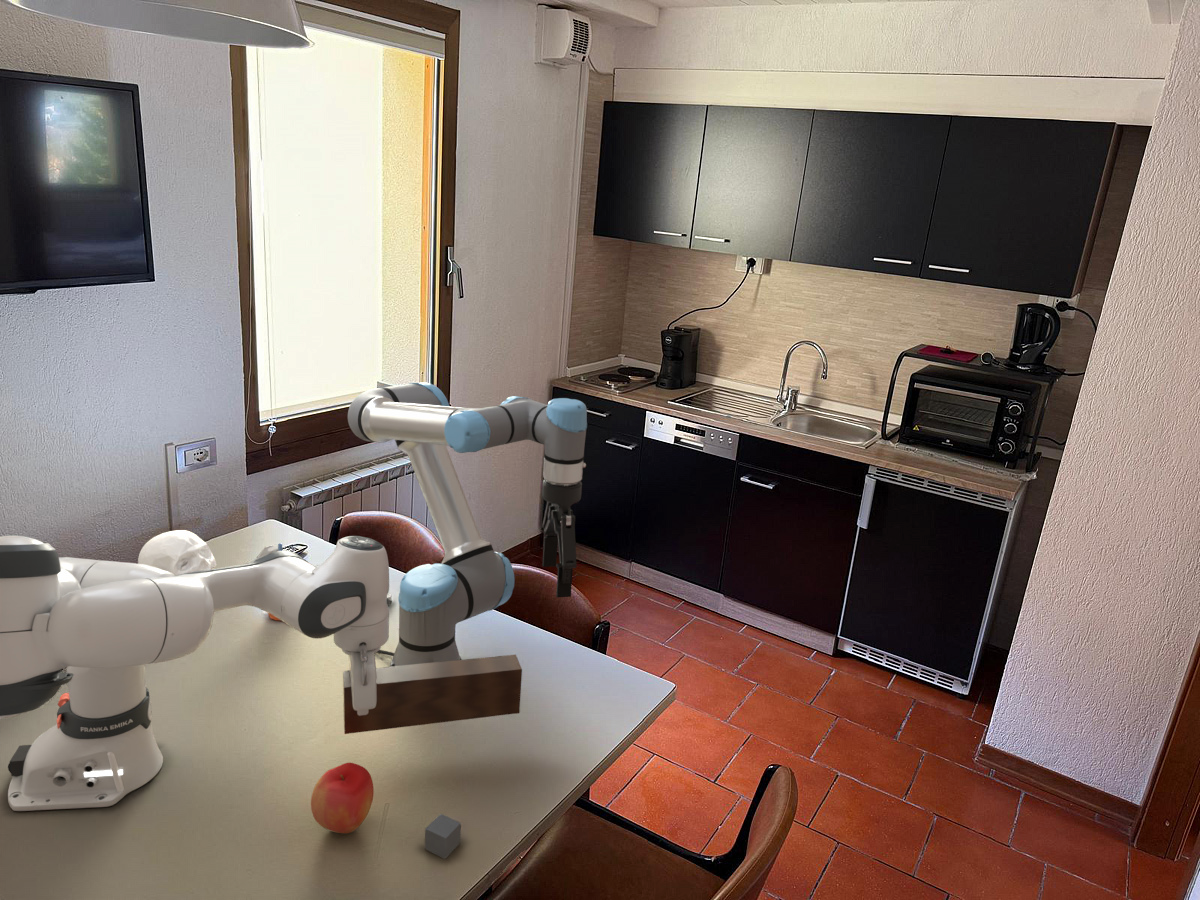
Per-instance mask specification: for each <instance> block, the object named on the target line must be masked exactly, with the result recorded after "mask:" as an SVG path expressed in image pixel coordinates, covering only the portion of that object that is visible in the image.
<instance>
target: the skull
mask: <svg viewBox="0 0 1200 900" xmlns="http://www.w3.org/2000/svg"><path fill="white" fill-rule="evenodd" d="M137 564H145V565H149V566H152V567H156V568H159V569H162V570H165V571H168V572H171V573H173V574H174V575H175V576H176V575H180V574H184V573H189V572H195V571H201V570H208V569H215V568H217V561H216V559H215V557H214V554H213V552H212V550H211V548H210V547H209V544H208V543H207V542H205V541H204V540H203V539H202V538H201V537H199V536H198V535H197V534H195V533H194V532H192V531H189V530H185V529H176V530H170V531H165V532H161V533H159V534H158V535H155V536H153V537H152V538H150V539H149V540H148V541H147V542H146V543H145V544H144V545H143V546H142V547H141V549H140V551H139V554H138V557H137Z"/></svg>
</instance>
